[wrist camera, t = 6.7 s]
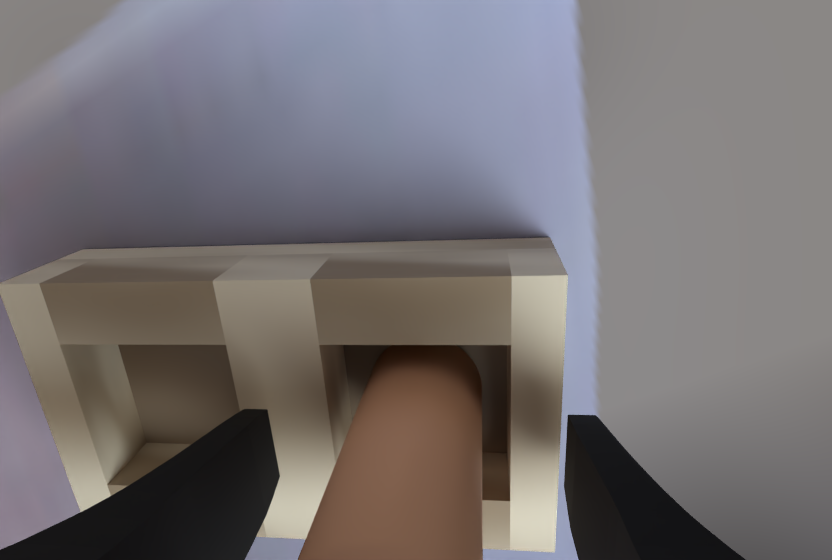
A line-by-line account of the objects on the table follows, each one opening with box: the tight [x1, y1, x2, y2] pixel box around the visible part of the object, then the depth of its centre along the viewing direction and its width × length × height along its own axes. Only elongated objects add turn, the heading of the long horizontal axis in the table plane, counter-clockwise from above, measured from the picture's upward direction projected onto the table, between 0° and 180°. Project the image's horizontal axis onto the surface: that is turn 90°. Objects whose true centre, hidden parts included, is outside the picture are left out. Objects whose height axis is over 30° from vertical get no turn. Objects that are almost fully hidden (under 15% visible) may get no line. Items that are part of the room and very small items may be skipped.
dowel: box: [298, 345, 483, 560], centre depth 11 cm, size 3×3×7 cm
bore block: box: [0, 238, 568, 552], centre depth 15 cm, size 8×14×3 cm, turn 94°
